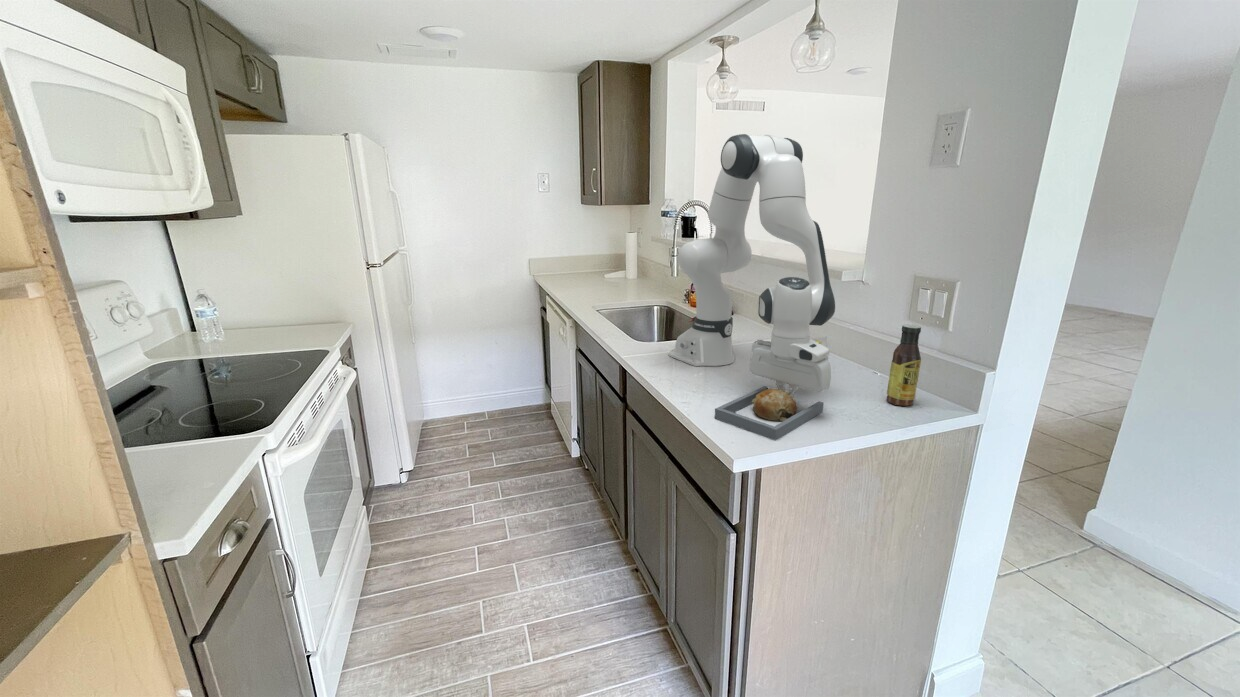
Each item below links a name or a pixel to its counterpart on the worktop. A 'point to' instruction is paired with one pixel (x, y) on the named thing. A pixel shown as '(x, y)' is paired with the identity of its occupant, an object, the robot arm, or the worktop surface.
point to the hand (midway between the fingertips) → (786, 398)
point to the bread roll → (774, 405)
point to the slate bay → (761, 428)
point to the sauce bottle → (905, 368)
